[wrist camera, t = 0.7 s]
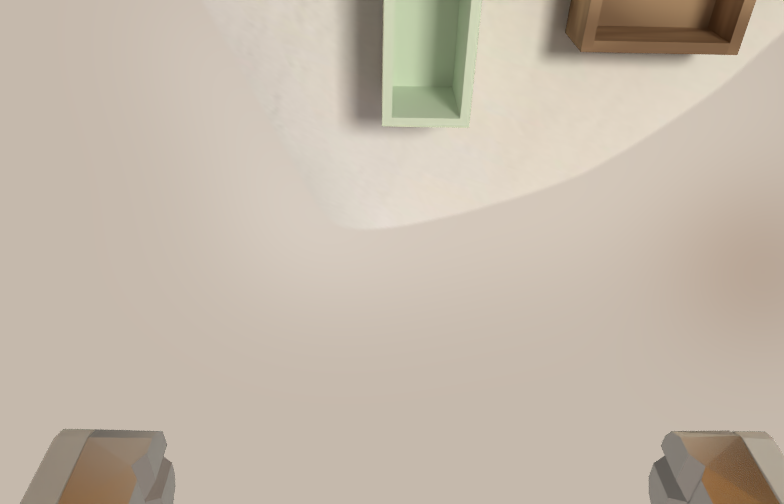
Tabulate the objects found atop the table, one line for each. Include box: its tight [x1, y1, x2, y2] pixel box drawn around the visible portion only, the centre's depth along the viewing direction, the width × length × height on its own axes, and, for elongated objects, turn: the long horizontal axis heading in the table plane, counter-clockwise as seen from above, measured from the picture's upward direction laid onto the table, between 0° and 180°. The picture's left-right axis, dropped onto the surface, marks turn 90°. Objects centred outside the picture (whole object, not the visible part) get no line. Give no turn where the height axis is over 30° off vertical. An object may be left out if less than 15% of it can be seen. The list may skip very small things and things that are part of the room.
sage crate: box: [382, 0, 482, 128], centre depth 39 cm, size 11×6×6 cm, turn 179°
